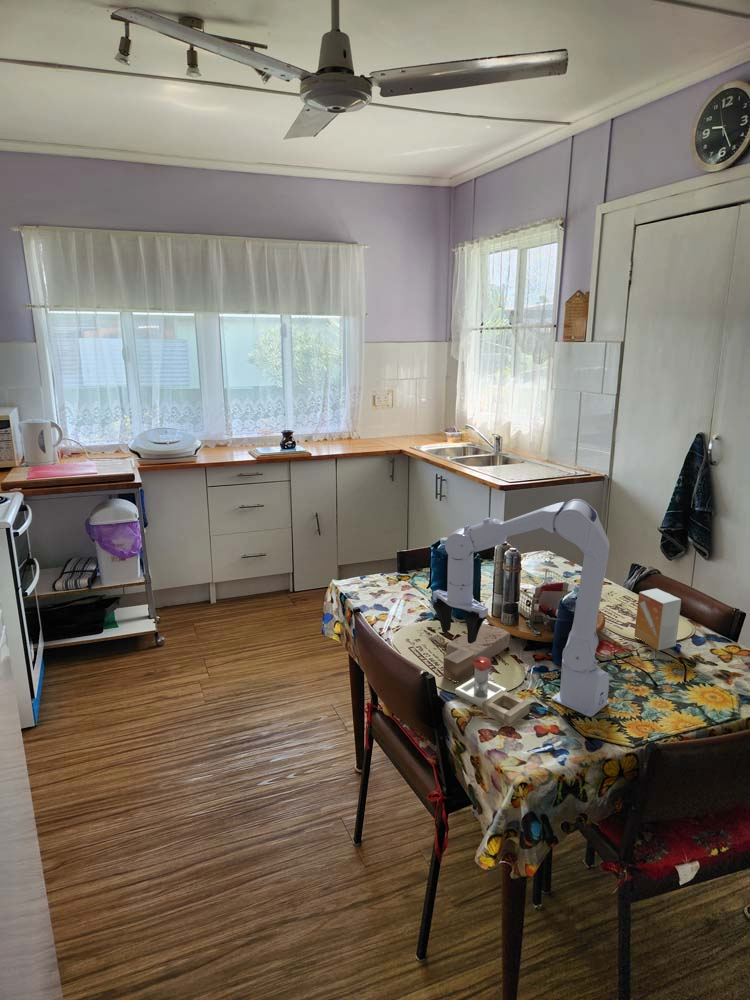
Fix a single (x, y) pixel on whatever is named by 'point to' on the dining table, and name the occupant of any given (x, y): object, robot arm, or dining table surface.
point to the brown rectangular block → (458, 665)
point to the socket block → (495, 711)
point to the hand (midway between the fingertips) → (458, 636)
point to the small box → (657, 618)
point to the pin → (481, 676)
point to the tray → (468, 692)
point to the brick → (482, 642)
